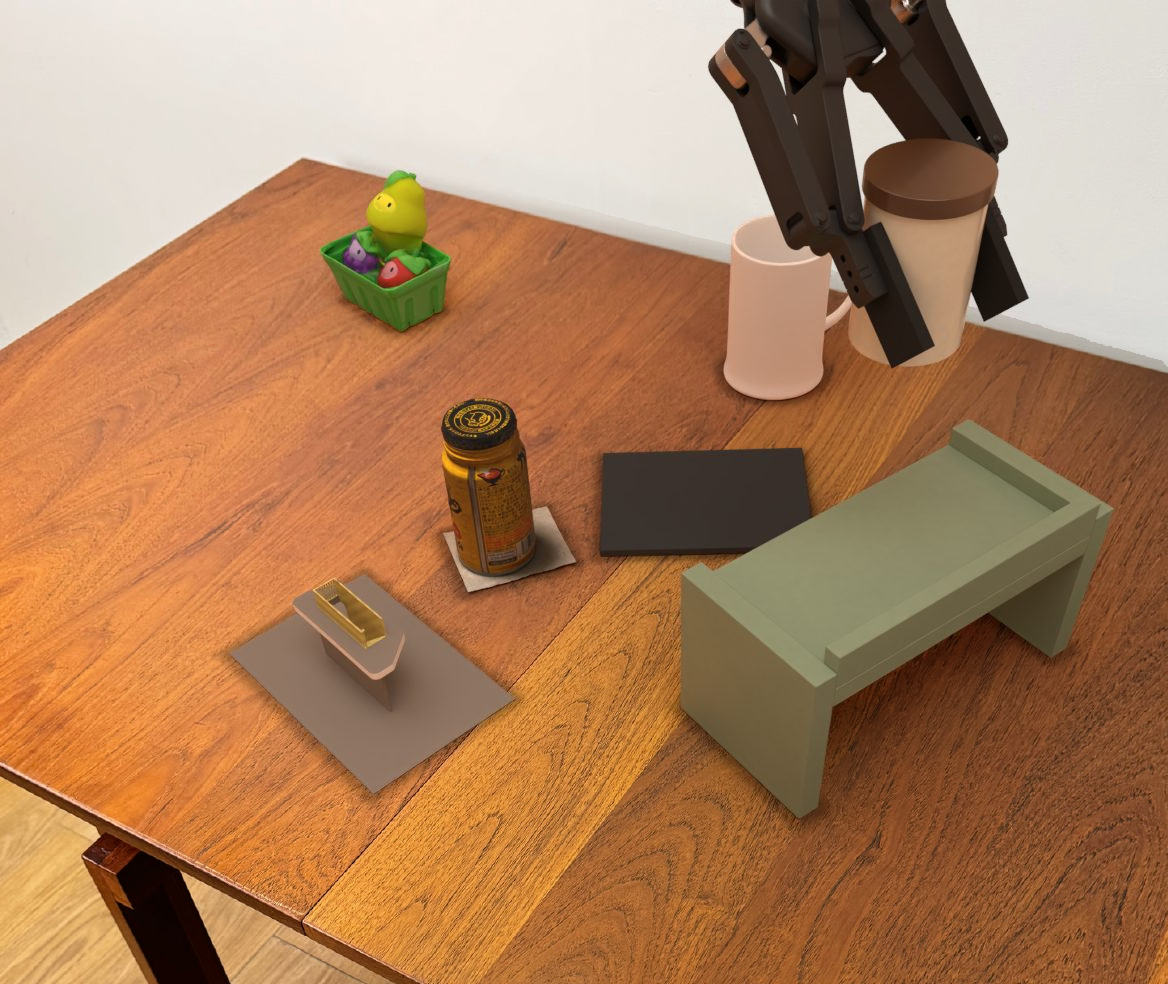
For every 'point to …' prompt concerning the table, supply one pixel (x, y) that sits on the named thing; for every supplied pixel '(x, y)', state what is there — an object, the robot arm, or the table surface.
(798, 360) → the mug
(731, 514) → the mat
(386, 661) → the platform
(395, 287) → the fruit basket
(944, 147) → the spice jar
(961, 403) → the table surface
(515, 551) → the condiment
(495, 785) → the table surface
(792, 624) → the stand
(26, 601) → the table surface
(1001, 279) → the robot arm
